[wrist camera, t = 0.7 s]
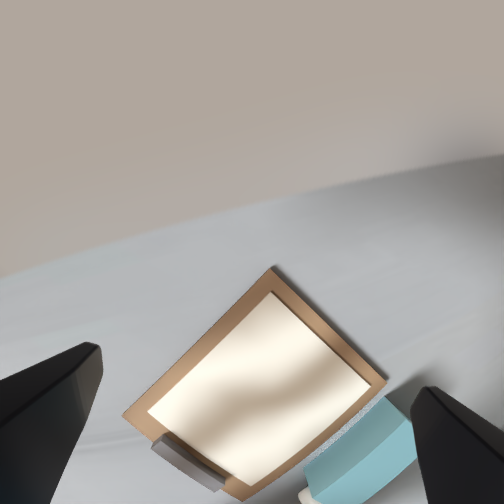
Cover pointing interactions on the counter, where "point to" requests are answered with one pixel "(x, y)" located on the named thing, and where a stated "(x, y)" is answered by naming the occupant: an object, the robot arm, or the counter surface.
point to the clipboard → (255, 393)
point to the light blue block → (361, 458)
